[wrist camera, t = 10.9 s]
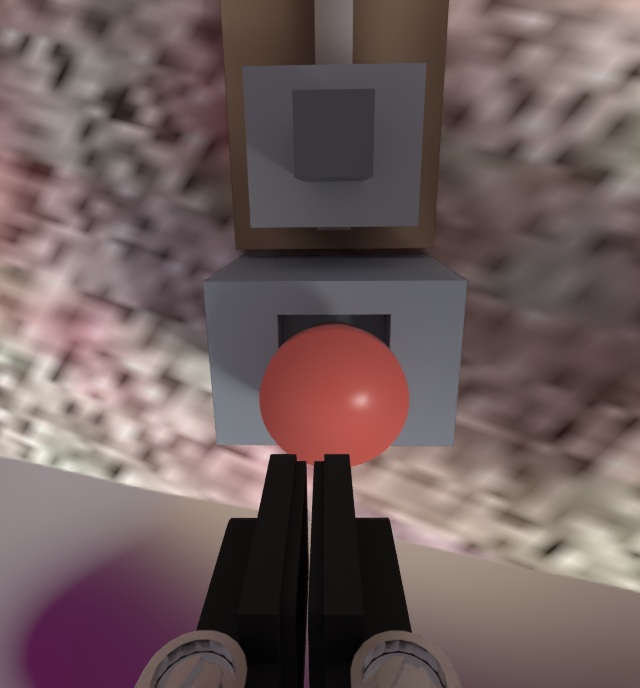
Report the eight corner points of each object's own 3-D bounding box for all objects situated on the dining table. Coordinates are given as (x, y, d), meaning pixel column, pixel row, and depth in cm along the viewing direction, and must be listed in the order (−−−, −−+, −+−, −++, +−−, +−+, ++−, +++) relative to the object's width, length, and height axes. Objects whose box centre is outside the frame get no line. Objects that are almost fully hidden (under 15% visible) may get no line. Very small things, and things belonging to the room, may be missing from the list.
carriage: (412, 83, 21) (460, 13, 13) (406, 221, 23) (444, 236, 15) (256, 86, 21) (208, 19, 13) (262, 223, 23) (223, 238, 15)
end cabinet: (427, 254, 25) (467, 280, 18) (420, 375, 27) (453, 446, 20) (242, 255, 25) (202, 281, 18) (249, 375, 28) (216, 444, 20)
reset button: (397, 303, 18) (413, 330, 15) (392, 419, 20) (405, 468, 16) (271, 304, 19) (255, 330, 15) (275, 418, 20) (262, 467, 16)
